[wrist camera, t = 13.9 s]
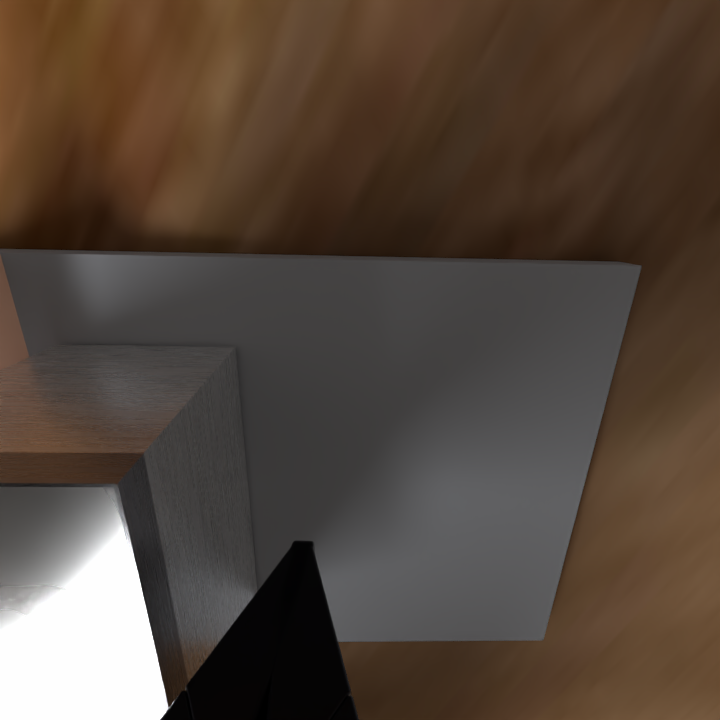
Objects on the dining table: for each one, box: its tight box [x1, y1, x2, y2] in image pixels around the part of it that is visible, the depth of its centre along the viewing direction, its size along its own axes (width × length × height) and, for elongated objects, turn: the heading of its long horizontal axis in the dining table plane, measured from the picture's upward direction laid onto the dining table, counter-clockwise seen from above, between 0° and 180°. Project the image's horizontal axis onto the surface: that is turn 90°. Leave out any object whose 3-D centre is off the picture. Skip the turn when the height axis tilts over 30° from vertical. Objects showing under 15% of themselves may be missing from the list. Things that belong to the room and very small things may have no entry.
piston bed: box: [0, 249, 642, 642], centre depth 10 cm, size 12×15×3 cm
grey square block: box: [0, 344, 257, 720], centre depth 8 cm, size 8×4×5 cm, turn 179°
